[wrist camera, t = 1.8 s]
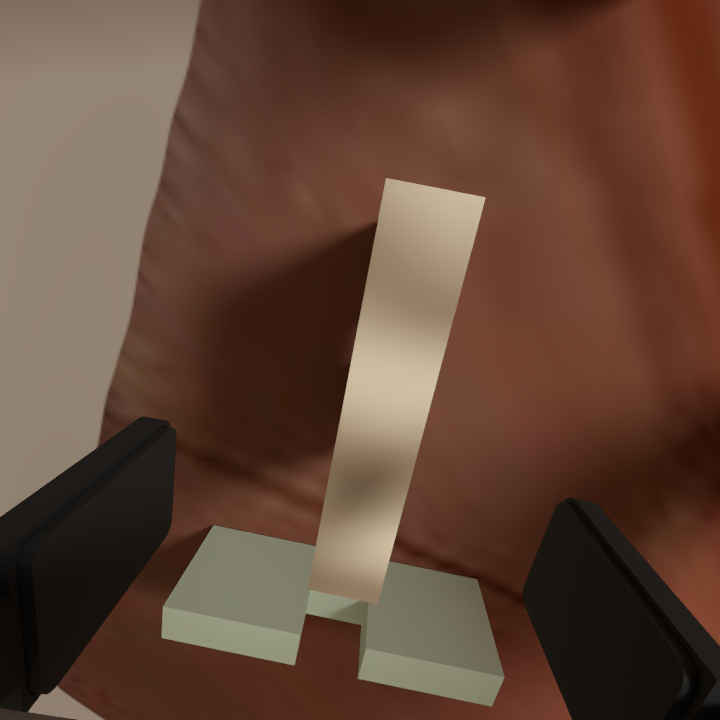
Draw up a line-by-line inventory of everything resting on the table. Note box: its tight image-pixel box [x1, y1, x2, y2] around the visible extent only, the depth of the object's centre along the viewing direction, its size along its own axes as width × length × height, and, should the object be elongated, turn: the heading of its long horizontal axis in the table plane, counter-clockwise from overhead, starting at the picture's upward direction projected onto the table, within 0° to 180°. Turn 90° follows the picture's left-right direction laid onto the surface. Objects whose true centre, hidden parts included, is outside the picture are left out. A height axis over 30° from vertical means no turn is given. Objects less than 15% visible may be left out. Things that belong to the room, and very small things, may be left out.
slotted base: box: [162, 525, 504, 707], centre depth 30 cm, size 24×3×8 cm, turn 79°
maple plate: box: [308, 178, 485, 604], centre depth 21 cm, size 16×3×15 cm, turn 169°
